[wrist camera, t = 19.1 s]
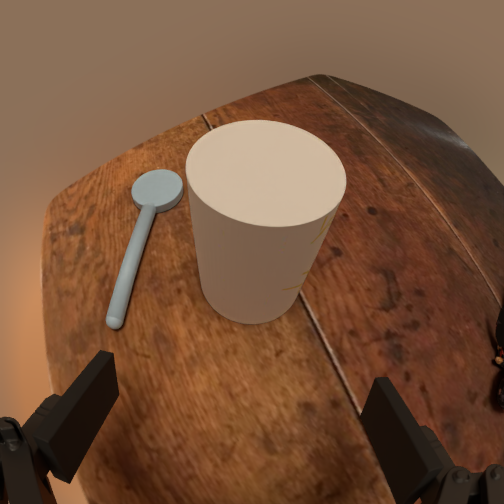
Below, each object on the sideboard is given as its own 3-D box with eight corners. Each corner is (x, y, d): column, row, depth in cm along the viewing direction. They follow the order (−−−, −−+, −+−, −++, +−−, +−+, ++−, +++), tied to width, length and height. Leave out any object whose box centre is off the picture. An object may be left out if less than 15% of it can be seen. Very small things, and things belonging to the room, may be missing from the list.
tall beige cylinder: (301, 326, 23) (359, 234, 13) (195, 320, 22) (170, 220, 12) (297, 239, 27) (332, 128, 17) (206, 233, 27) (199, 116, 17)
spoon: (145, 337, 21) (141, 331, 20) (87, 325, 21) (80, 319, 20) (188, 177, 30) (187, 167, 29) (142, 174, 30) (140, 165, 29)
